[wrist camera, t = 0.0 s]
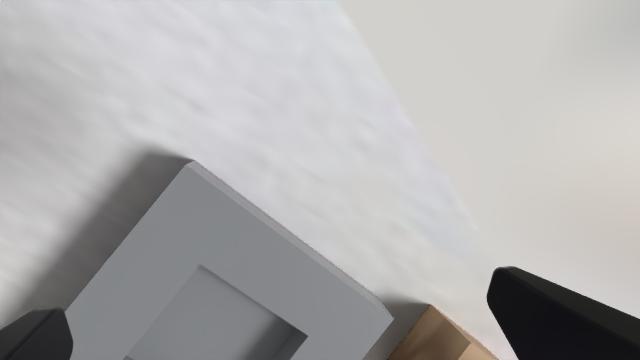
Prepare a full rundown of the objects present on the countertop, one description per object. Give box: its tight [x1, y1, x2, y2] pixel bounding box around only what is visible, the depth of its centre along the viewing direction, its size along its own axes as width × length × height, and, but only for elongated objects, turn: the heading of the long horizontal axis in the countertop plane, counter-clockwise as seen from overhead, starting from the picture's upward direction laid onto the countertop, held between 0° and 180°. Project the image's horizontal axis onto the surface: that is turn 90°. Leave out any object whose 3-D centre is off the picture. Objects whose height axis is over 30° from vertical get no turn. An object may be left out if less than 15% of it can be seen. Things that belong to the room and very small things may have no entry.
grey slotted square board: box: [65, 161, 394, 360], centre depth 21 cm, size 16×16×3 cm
